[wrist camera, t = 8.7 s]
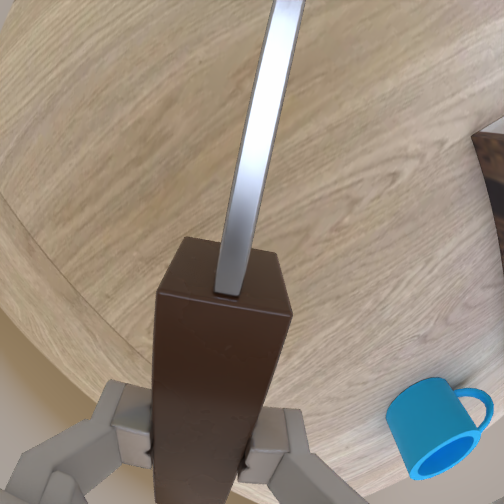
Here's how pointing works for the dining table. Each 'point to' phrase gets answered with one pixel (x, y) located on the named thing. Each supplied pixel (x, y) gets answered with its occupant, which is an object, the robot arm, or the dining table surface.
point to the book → (493, 171)
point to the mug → (435, 426)
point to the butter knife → (223, 311)
